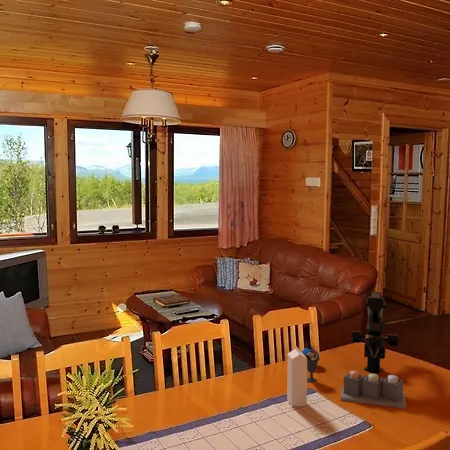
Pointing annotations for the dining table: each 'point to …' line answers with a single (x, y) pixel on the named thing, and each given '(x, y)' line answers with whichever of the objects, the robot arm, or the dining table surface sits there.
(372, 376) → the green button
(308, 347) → the ornament
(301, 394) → the milk
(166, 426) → the dining table surface
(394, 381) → the white rounded dome
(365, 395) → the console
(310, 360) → the sundae
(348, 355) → the dining table surface
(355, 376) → the salmon orange ball
